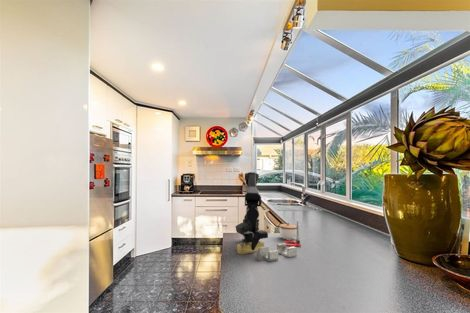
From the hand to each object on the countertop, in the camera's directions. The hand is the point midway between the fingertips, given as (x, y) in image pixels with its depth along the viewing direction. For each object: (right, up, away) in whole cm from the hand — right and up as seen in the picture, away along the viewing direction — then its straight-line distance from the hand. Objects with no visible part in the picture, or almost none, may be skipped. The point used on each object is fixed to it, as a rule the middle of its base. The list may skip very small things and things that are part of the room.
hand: (250, 249), depth 116 cm
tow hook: (+24, -4, +15) cm, 28 cm away
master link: (0, -1, 0) cm, 1 cm away
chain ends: (+12, -1, -6) cm, 14 cm away
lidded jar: (+25, -5, +27) cm, 37 cm away
